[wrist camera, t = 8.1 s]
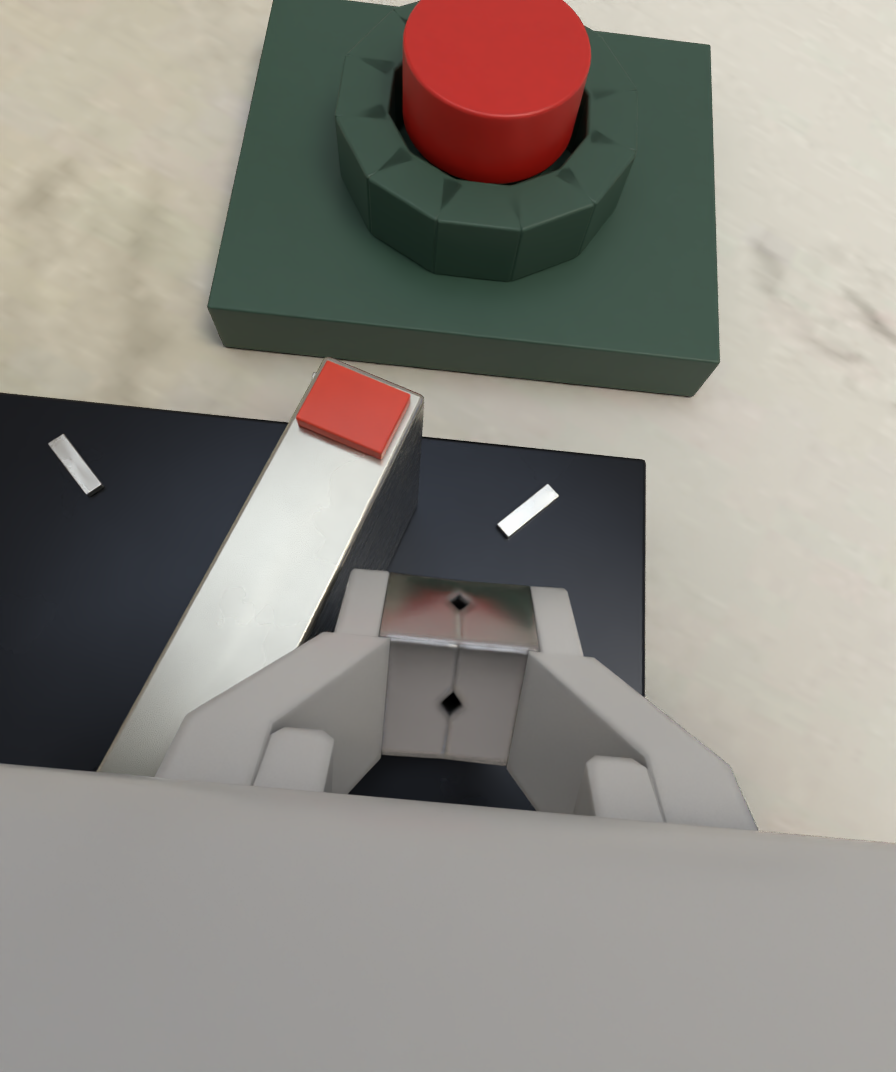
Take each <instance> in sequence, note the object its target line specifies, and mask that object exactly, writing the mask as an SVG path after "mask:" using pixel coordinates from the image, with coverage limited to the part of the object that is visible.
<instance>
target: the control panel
mask: <svg viewBox="0 0 896 1072" xmlns="http://www.w3.org/2000/svg"><path fill="white" fill-rule="evenodd" d="M315 374H316V373H313V375H312V380H313V378H314V376H315ZM287 425H288V423H287V422H277V421H268V420H258V419H248V418H239V417H229V416H220V415H210V414H200V413H191V412H181V411H172V410H162V409H152V408H143V407H133V406H124V405H114V404H104V403H95V402H85V401H76V400H66V399H56V398H47V397H37V396H28V395H18V394H8V393H0V763H2V764H13V765H24V766H36V767H47V768H58V769H69V770H80V771H92V772H96V771H97V769H98V767H99V766H100V764H101V762H102V760H103V758H104V757H105V755H106V753H107V751H108V749H109V747H110V746H111V744H112V742H113V740H114V738H115V737H116V735H117V733H118V731H119V729H120V728H121V726H122V724H123V722H124V720H125V718H126V717H127V715H128V713H129V711H130V709H131V708H132V706H133V704H134V702H135V700H136V699H137V697H138V695H139V693H140V691H141V689H142V688H143V686H144V684H145V682H146V680H147V679H148V677H149V675H150V673H151V671H152V670H153V668H154V666H155V664H156V662H157V660H158V659H159V657H160V655H161V653H162V651H163V650H164V648H165V646H166V644H167V642H168V641H169V639H170V637H171V635H172V633H173V631H174V630H175V628H176V626H177V624H178V622H179V621H180V619H181V617H182V615H183V613H184V612H185V610H186V608H187V606H188V604H189V602H190V601H191V599H192V597H193V595H194V593H195V592H196V590H197V588H198V586H199V584H200V583H201V581H202V579H203V577H204V575H205V573H206V572H207V570H208V568H209V566H210V564H211V563H212V561H213V559H214V557H215V555H216V554H217V552H218V550H219V548H220V546H221V544H222V543H223V541H224V539H225V537H226V535H227V534H228V532H229V530H230V528H231V526H232V525H233V523H234V521H235V519H236V517H237V515H238V514H239V512H240V510H241V508H242V506H243V505H244V503H245V501H246V499H247V497H248V496H249V494H250V492H251V490H252V488H253V487H254V485H255V483H256V481H257V479H258V477H259V476H260V474H261V472H262V470H263V468H264V467H265V465H266V463H267V461H268V459H269V458H270V456H271V454H272V452H273V450H274V448H275V447H276V445H277V443H278V441H279V439H280V438H281V436H282V434H283V432H284V430H285V429H286V427H287ZM645 541H646V463H645V460H642V459H632V458H623V457H613V456H604V455H594V454H584V453H575V452H565V451H556V450H546V449H536V448H527V447H517V446H508V445H498V444H488V443H479V442H469V441H460V440H450V439H440V438H431V437H422V443H421V459H420V475H419V491H418V504H417V506H416V508H415V511H414V513H413V515H412V517H411V519H410V521H409V523H408V526H407V528H406V530H405V532H404V534H403V536H402V538H401V540H400V543H399V545H398V547H397V549H396V551H395V553H394V555H393V557H392V560H391V562H390V564H389V566H388V568H387V570H386V571H388V572H389V574H390V573H391V572H396V573H405V574H413V575H422V576H430V577H439V578H447V579H455V580H461V581H472V582H485V583H498V584H512V585H525V586H536V587H554V588H564V589H565V590H566V591H567V592H568V596H569V600H570V604H571V608H572V612H573V616H574V620H575V624H576V628H577V632H578V636H579V640H580V644H581V648H582V652H583V656H584V657H593V658H595V659H596V660H598V661H599V662H600V663H601V664H603V665H604V666H605V667H606V668H608V669H609V670H610V671H612V672H613V673H614V674H615V675H617V676H618V677H619V678H620V679H622V680H623V681H624V682H625V683H627V684H628V685H629V686H630V687H632V688H633V689H634V690H635V691H637V692H638V693H639V694H641V695H642V696H643V697H644V698H645ZM348 794H349V795H360V796H372V797H383V798H394V799H405V800H416V801H428V802H439V803H450V804H461V805H472V806H483V807H495V808H506V809H517V810H528V811H536V810H535V808H534V807H533V805H532V804H531V803H530V801H529V800H528V798H527V797H526V796H525V794H524V793H523V791H522V790H521V789H520V787H519V786H518V784H517V783H516V782H515V780H514V779H513V777H512V776H511V775H510V773H509V772H508V770H507V766H501V765H492V764H484V763H475V762H467V761H458V760H450V759H440V758H425V757H409V756H393V755H381V758H380V759H379V761H378V762H377V763H376V764H375V765H374V766H373V767H372V768H371V769H370V770H369V771H368V772H367V773H366V775H365V776H364V777H363V778H362V779H361V780H360V781H359V782H358V783H357V784H356V785H355V786H354V788H353V789H352V790H351V791H350V792H349V793H348Z"/></svg>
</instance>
